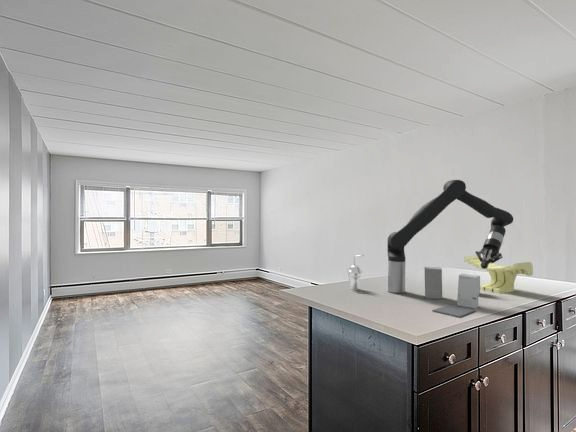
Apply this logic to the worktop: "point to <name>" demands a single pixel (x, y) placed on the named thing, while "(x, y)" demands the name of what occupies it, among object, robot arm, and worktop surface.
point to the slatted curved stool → (501, 274)
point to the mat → (454, 310)
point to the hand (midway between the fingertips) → (483, 267)
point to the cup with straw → (354, 275)
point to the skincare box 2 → (468, 291)
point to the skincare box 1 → (433, 282)
